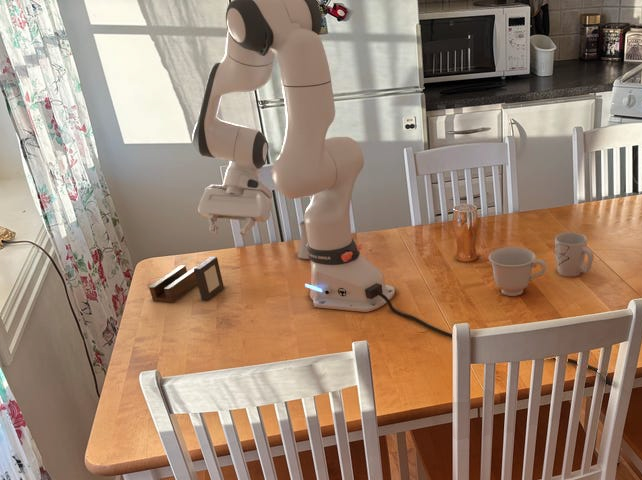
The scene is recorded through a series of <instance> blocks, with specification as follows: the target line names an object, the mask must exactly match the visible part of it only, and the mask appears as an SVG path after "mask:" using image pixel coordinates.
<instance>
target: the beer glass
mask: <svg viewBox="0 0 642 480" xmlns="http://www.w3.org/2000/svg"><path fill="white" fill-rule="evenodd" d="M452 226H453V233H454V238H455V242H456V254H455V258H456V260H457V261H459V262H461V263H469V262H474V261H476V260H477V259H478V254H477V249H476V245H477V244H476V242H477V236H478V229H479V217H478V208H477V206H476V205H475V204H473V203H472V204H471V203H460V204H456V205H454V206H453V207H452Z"/></svg>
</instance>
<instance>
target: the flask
mask: <svg viewBox="0 0 642 480" xmlns="http://www.w3.org/2000/svg"><path fill="white" fill-rule="evenodd" d="M299 226H300V229H301V230H300V232H301V233H300V234H301V235H300V241H299V247H298V253H297V258H299V259H303V260H310V259H309V258H308V252H307V243H308V240H307V233H306V227H305V221H304V220H302V221H300V222H299Z"/></svg>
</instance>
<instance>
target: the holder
mask: <svg viewBox="0 0 642 480" xmlns="http://www.w3.org/2000/svg"><path fill="white" fill-rule="evenodd" d="M195 267H196V266H194V267H192V268H191V269H190V270H187V266H186V265H183V264H182V265H179V266H178V267H176V268H175V269H174V270H172V271H170V272H168V273H167V274H166V275H164V276H163V277H161V278H160V279H158V280H157V281H156V282H154V283H153V284H151V285H150V286H149V293H150V296H151V299H152V301H153V302H159V303H160V302H161V303H170V304H173V303H175V302H176V301H177V300H179V299H180V298H182V297H183V296H184V295H185V294H187V293H188V292H190V291H191V290H192V289H193V288H195V287H197V286H198V284H197V280H196V276H195V272H194V268H195Z"/></svg>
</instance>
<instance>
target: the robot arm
mask: <svg viewBox="0 0 642 480" xmlns="http://www.w3.org/2000/svg"><path fill="white" fill-rule="evenodd" d="M225 11H226V12H225V24H226V29H227V34H226V42H225V43H226V44H225V54H224V57H223V58H222V60H221V61H219V62H216V63H214V64H213V66H212V67H211V69H210V71H209V73H208V77H207V80H206V83H205V88H204V92H203V95H202V101H201V105H200V109H199V113H198V118H197V122H196V123H195V126H194V129H193V132H192V145H193V147H194V148H195V150H196V151H197V152H198V154H199V155H201V156H203V157H207V158H213V159H219V160H224V161H228V162H229V165H228V167H227V169H226V171H225V173H224V174H225V175H224V178H223V182H222V184H210V185H209V186H207V187H205V189H204V192H203V194H202V196H201V198H200V201H199V204H198V207H197V211H198V213H199V214H200V215H201V216H203V217H204V218H207V220H208V223H209V228H208V231H209V232H210V233H213V234H217V233H218V230H219V226H217V225H216V222H217V221H218V219H221V220H234V221H235V220H237V221H246V223H245V224H244V226H240V230H239V234H240V235H241V236H248V235H249V233H250V230H251V229H252V228H253V227H254V226H255V224H256V222H259V223H266V222H267V221H269V219H270V217H271V212H272V204H273V203H272V200H271V199H273V195H274V193H273V192H272V191H271V189H270V188H269V187H268V186H267V185H265V184H264V182H262V181H260V172H261V171H262V169H263V167H264V166H265V165H266V162H267V159H268V154H269V149H270V148H269V147H270V146H269V142H268V140H267V138H266V136H265V134H264V133H263V132H262V131H260V130H259V129H257V128H254V127H249V126H244V125H239V124H235V123H232V122H228V121H224V120H222V119H220V118H219V117H218V113H219V110H220V105H221V100H222V97H223V96H225V95H228V94H233V93H249V92H254V91H257V90H260V89H261V88H262V87H264V86H265V85H266V84H267V83H268V82H269V81H270V80H271V79H272V78H271V77H272V74H273V69H274V61H275V57H276V60H277V63H278V66H279V74H280V75H279V76H280V80H281V81H280V82H281V88H282V94H283V99H284V100H283V101H284V107H285V117H286V118H285V119H286V125H285V127H286V128H285V134H284V139H283V144H282V147H281V150H280V152H279V153H278V156H277V158H276V159H275V161H274V162H273V164H272V167H271V179H272V182H273V185H274V186H275V188H276V190H278V192H279V193H280V194H281V195H282V196H284V197H285V198H288V199H292V200H294V199H302V198H303V199H304V198H309V197H311V196H312V198H311V201H310V203H309V205H307V207H306V210H305V212H304V215H303V216H304V217H303V221H305V227H306V233H307V240H308V243H307V252H308V258H309V259H308V260H309V262H310V275H311V276H310V277H311V278H310V284H308V283H304V286H305V288H309V289H310V291H309V298H310V299H311V300H312V301H313V307H314V308H319V309H329V310H330V309H331V310H340V311H349V312H350V311H351V312H361V313H369V312H372V311H375V310H377V309H379V308H381V307H383V306H384V305H386V304H387V306H388V308H389V309H390V310H391V311H392V312H393V313H395V314H396V315H398V316H400V317H403V318H406V319H410V320H412V321H414V322H416V323H418V324H420V325H422V326H424V327H425V328H427V329H430V330H432V331H434V332H436V333H438V334H441V335H444V336H447V337H449V338H452V334H453V333H450V332H447V331H445V330H442V329H440V328H437V327H435V326H433V325H430V324H429V323H427V322H425V321H423V320H421V319H420V318H417V317H415V316H413V315H411V314H406V313H403V312H401V311H399V310H397V309H396V308H395V307H394V306H393V304H392V302H391V299H392V298H393V297H394V296H395V293H396V289H395V287H394V286H392V285H389V284H386V280H385V278H384V274H383V272H382V271H381V270H380V269H379V268H378V267H376V266H375V265H374V264H372V262H370V261H369V260H368V259H367V258H365V257H364V256H363V255H362V254H361V252H360V250H362V249H363V247H362V245H363V244H362V243H360V244H359V245H357V243H356V242H355V239H353V236H352V226H351V217H350V214H351V213H350V210H351V209H350V208H351V201H352V195H353V190H354V188H355V187H354V186H355V183H356V181H357V178H358V176H359V174H360V173H361V171H362V170H363V168H364V164H365V163H364V162H365V157H364V153H363V150H362V147H361V146H360V144H359V143H358V142H357V141H356V140H355V139H354V138H352V137H349V136H333V137H328V138H327V137H326V136H327V133H328V130H329V128H330V126H331V125H332V124H333V122H334V120H335V118H336V106H335V99H334V91H333V85H332V84H333V83H332V76H331V72H330V71H331V70H330V65H329V61H328V57H327V53H326V50H325V46H324V44H323V41H322V38H321V37H320V36H319V35H320V34H321V31H322V28H323V15H322V11H321V8H320V7H319V4H318V2H317V1H316V0H232V1H231V2H229V4H228V5H227V7H226V10H225ZM552 360H555V361H557V360H556V359H555V358H553V359H552ZM577 361H578V360H576V359H572V358H568V362H567V363H570V364H573V365H577ZM587 365H588V370H590V371H592V372H595V373H597V370H598V369H599V368H598V367H595V366H593V365H590V364H587ZM605 383H606V384H607V386H608V387H611V386H613V384H612V381H611V380H610V379H609V377H608V375H606V381H605Z"/></svg>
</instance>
